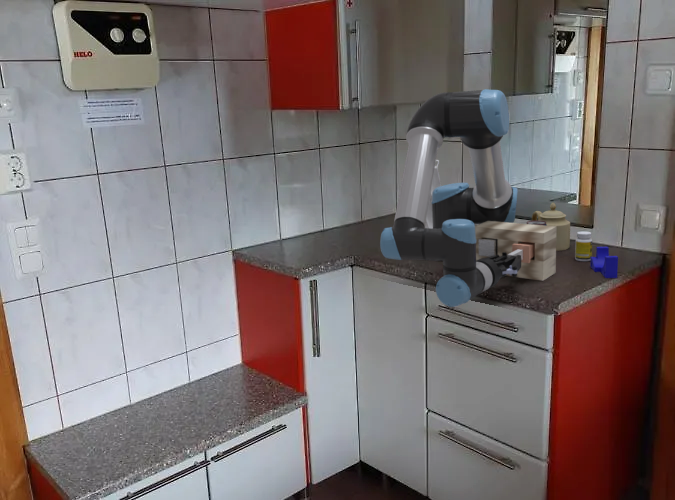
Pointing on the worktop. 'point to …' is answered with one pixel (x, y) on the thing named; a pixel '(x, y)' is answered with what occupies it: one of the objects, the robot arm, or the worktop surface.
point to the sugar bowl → (556, 220)
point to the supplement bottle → (583, 246)
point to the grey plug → (488, 247)
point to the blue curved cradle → (604, 263)
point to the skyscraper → (435, 184)
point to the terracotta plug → (525, 250)
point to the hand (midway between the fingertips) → (520, 254)
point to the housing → (517, 234)
